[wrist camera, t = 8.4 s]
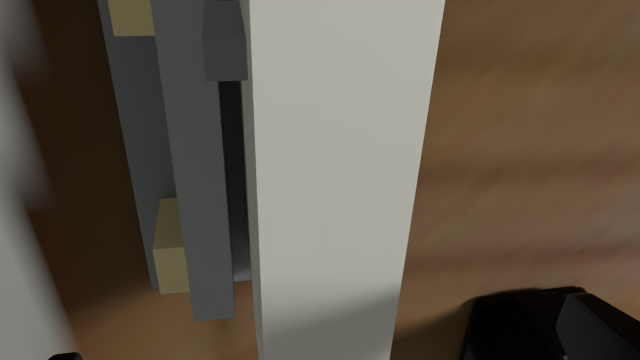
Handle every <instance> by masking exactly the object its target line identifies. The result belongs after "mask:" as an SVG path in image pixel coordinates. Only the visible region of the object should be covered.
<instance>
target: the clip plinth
mask: <svg viewBox="0 0 640 360" xmlns="http://www.w3.org/2000/svg"><path fill="white" fill-rule="evenodd" d="M204 1H231V0H97V2H98V7H99V13H100V18H101V23H102V28H103V34H104V39H105V44H106V50H107V55H108V60H109V65H110V71H111V76H112V81H113V86H114V92H115V97H116V102H117V108H118V113H119V118H120V123H121V129H122V134H123V139H124V144H125V150H126V155H127V160H128V166H129V171H130V176H131V181H132V187H133V192H134V197H135V202H136V208H137V213H138V218H139V223H140V229H141V234H142V239H143V245H144V250H145V255H146V260H147V266H148V271H149V276H150V281H151V287H152V289H160V295H162V294H172V293H182V292H190V295H191V303H192V310H193V317H194V322H197V321H206V320H216V319H225V318H234V317H236V315H235V295H234V282H235V281H245V280H251V270H250V260H249V249H248V235H247V217H246V198H245V180H244V162H243V144H242V126H241V108H240V89H239V81H213V82H205V72H204V61H203V51H202V23H203V5H204Z"/></svg>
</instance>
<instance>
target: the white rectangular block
mask: <svg viewBox="0 0 640 360" xmlns="http://www.w3.org/2000/svg"><path fill="white" fill-rule="evenodd" d="M444 4H445V0H231V1H204V5H203V23H202V51H203V61H204V72H205V82H213V81H239V89H240V108H241V126H242V144H243V162H244V180H245V198H246V217H247V235H248V249H249V260H250V270H251V281H252V292H253V303H254V314H255V324H256V335H257V346H258V357H259V360H389V359H390V353H391V347H392V340H393V334H394V327H395V321H396V314H397V308H398V301H399V295H400V288H401V282H402V275H403V269H404V263H405V256H406V250H407V243H408V237H409V230H410V224H411V217H412V211H413V204H414V198H415V191H416V185H417V179H418V172H419V166H420V159H421V153H422V146H423V140H424V133H425V127H426V120H427V114H428V107H429V101H430V94H431V88H432V82H433V75H434V69H435V62H436V56H437V49H438V43H439V36H440V30H441V23H442V17H443V10H444Z"/></svg>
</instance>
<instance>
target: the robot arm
mask: <svg viewBox="0 0 640 360" xmlns="http://www.w3.org/2000/svg"><path fill="white" fill-rule="evenodd" d="M48 360H83V359H82V357H81V355H80V354H79V353H77V352H72V353H63V354H56V355H53V356H52V357H50V358H49V359H48ZM460 360H640V321H638V320H636V319H635V318H633V317H631V316H629V315H628V314H626V313H624V312H622V311H621V310H619V309H617V308H616V307H614V306H612V305H610V304H609V303H607V302H605V301H603V300H602V299H600V298H598V297H597V296H595V295H593V294H590V293H587V292H586V291H585V289H584V288H582V287H576V288H567V289H558V290H549V291H540V292H531V293H522V294H513V295H504V296H495V297H486V298H481V299H479V300H478V301H477V302H476V303H475V304H474V307H473V311H472V315H471V318H470V322H469V326H468V330H467V333H466V337H465V341H464V345H463V348H462V352H461V356H460Z"/></svg>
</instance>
